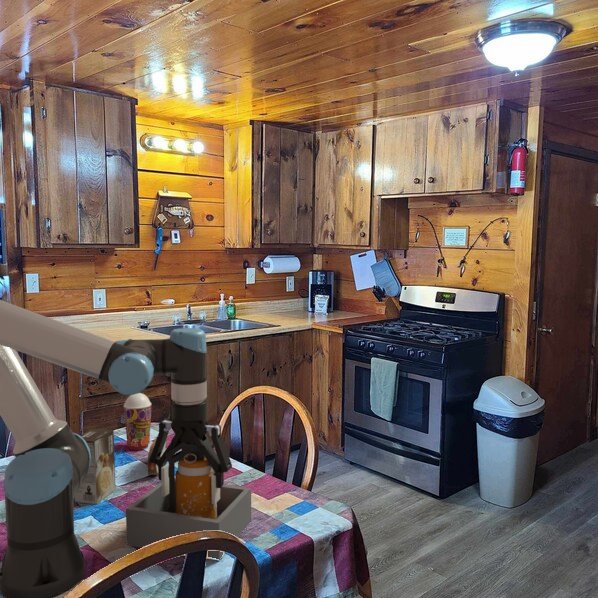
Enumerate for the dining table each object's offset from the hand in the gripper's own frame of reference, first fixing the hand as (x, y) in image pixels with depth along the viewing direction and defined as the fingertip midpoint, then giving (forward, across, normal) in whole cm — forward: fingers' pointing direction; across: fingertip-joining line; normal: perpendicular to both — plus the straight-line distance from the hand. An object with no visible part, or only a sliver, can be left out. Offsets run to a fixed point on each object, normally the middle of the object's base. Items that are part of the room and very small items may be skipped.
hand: (190, 497), depth 128 cm
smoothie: (+8, +41, -44) cm, 61 cm away
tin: (+8, +26, -30) cm, 41 cm away
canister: (+7, 0, 0) cm, 7 cm away
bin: (+8, 0, 0) cm, 8 cm away
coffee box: (+8, +32, -10) cm, 35 cm away
